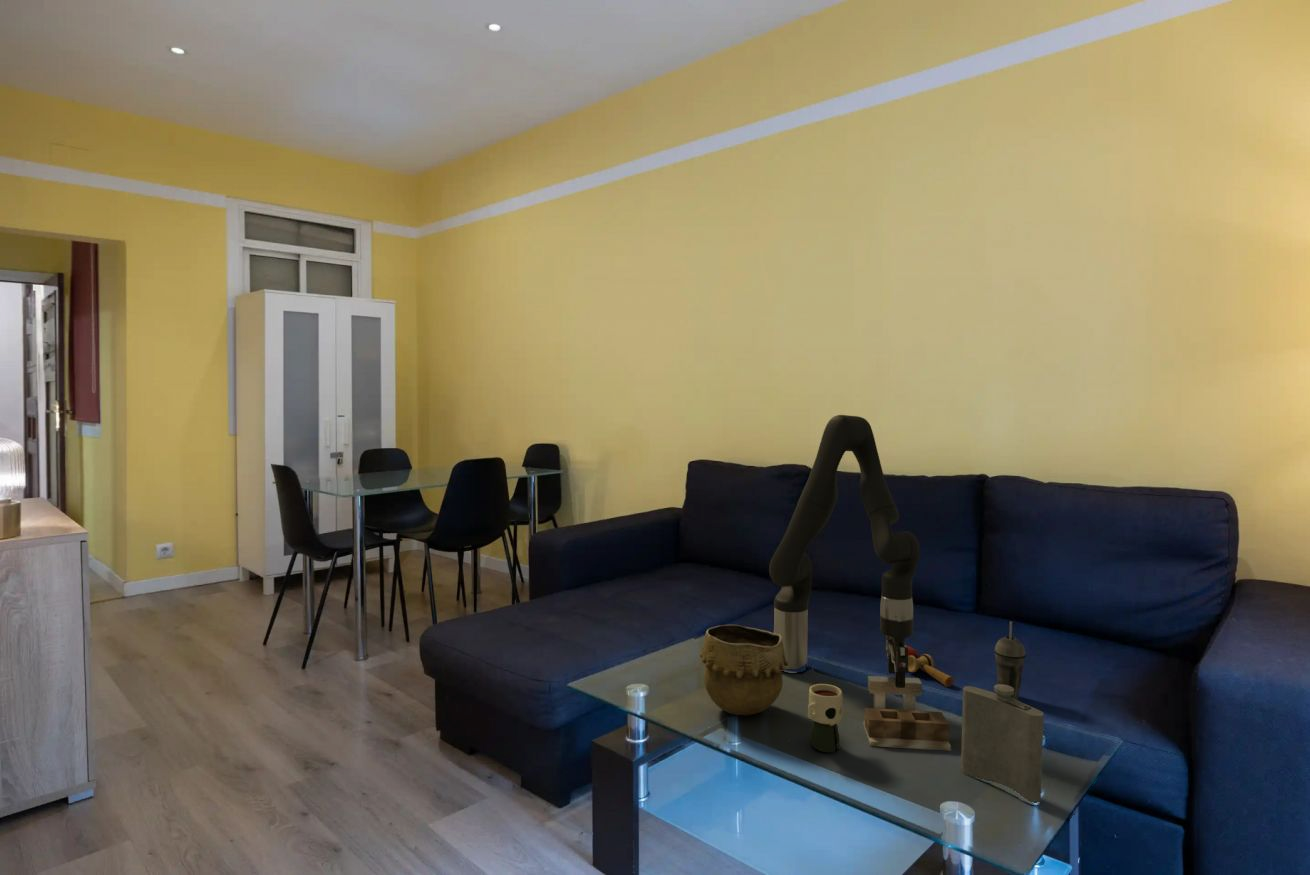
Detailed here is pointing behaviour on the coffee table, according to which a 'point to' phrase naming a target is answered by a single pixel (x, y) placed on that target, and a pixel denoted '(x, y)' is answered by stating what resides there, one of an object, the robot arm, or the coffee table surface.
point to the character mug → (825, 716)
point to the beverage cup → (1010, 662)
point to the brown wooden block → (906, 729)
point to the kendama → (926, 667)
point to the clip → (894, 691)
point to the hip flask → (1002, 740)
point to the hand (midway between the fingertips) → (896, 680)
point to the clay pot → (743, 668)
